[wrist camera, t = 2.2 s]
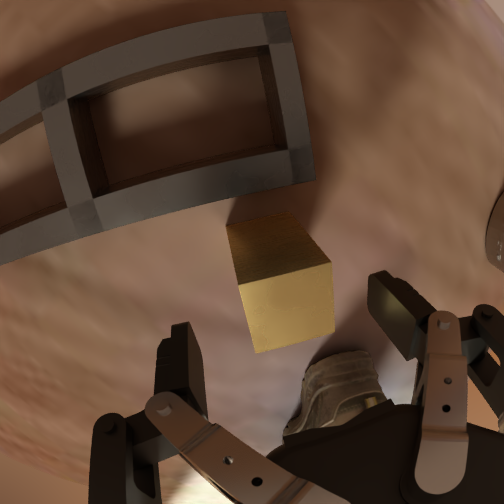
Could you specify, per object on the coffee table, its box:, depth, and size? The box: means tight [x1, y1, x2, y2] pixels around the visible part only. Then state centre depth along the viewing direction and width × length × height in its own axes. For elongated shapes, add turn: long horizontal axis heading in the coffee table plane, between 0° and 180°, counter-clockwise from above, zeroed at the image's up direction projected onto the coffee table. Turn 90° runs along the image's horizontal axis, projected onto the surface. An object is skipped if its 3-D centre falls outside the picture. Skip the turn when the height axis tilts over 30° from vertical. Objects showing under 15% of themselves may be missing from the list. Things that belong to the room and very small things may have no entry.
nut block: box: [226, 211, 335, 353], centre depth 16 cm, size 4×4×7 cm
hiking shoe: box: [282, 351, 387, 444], centre depth 26 cm, size 9×21×12 cm, turn 1°
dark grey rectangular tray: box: [0, 11, 316, 265], centre depth 14 cm, size 24×9×3 cm, turn 101°
